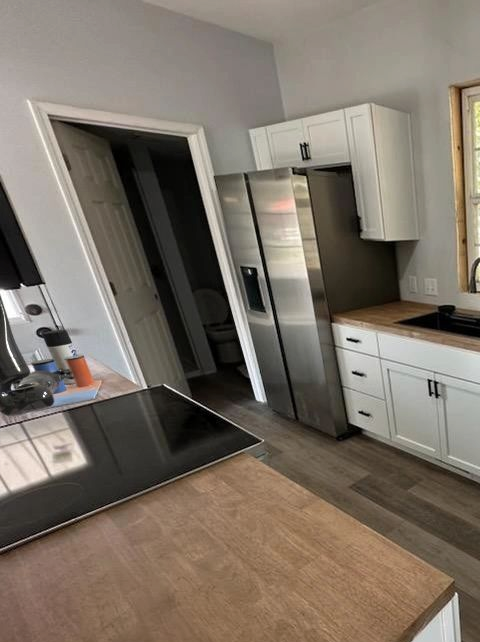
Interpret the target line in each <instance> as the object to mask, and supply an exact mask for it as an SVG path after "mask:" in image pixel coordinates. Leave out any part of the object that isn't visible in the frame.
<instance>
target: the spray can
mask: <svg viewBox="0 0 480 642" xmlns="http://www.w3.org/2000/svg"><path fill="white" fill-rule="evenodd" d="M41 336H42V338H43V341H44V343H45V345H46V348H47V350H48V352H49V354H50V356H51V359H54V362H55V364H56V366H57V369H60V368H62V369H65V370H66V369H69V368H68V366H67V364H66V361H65V360H64V358H66V357H69V356H74V355H78V352H77V350H76V348H75V346H74V344H73V341H72V339H71V337H70V334H69V333H68V331H67V329H56V330H49V331H44V332H43V333H41ZM63 382H64V384H65V385H75V382H74V380H73V379H67V378H64V379H63Z"/></svg>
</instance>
